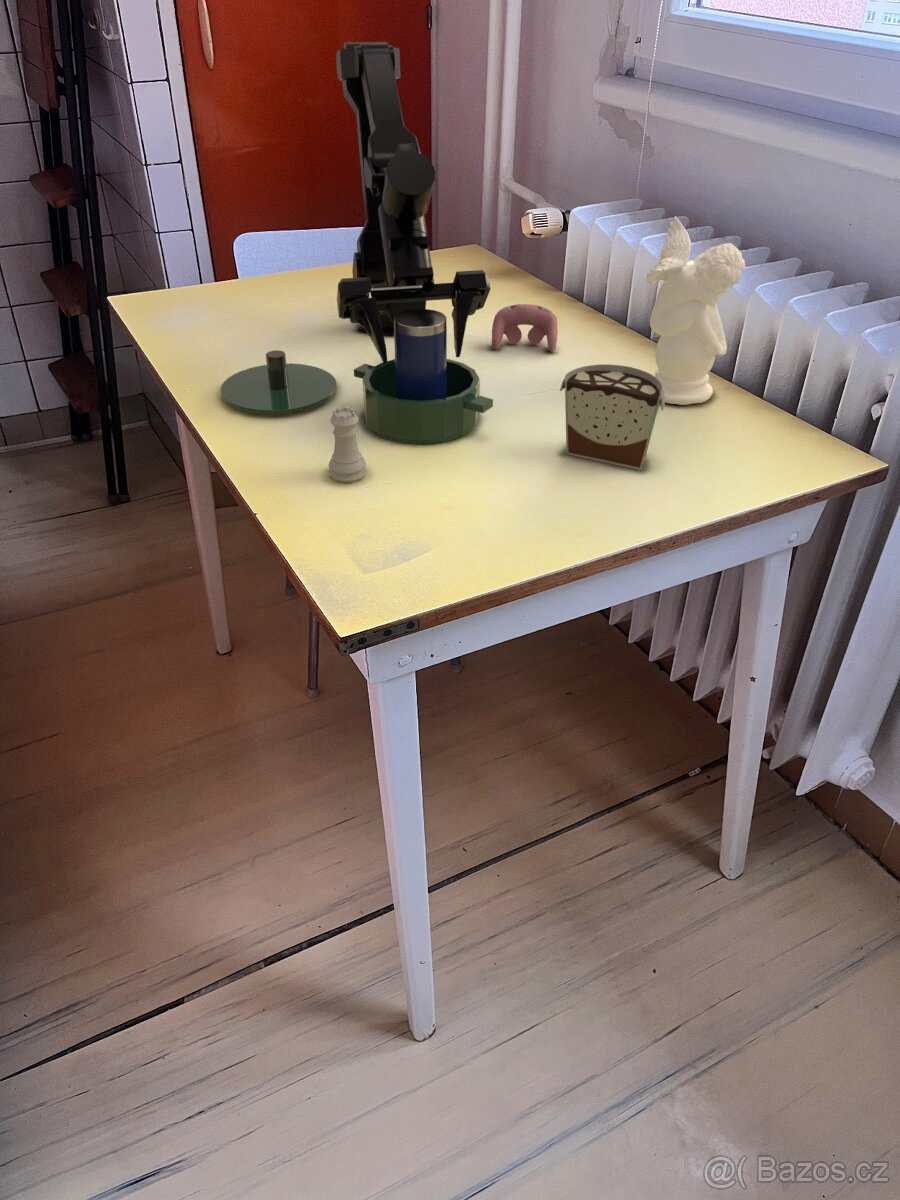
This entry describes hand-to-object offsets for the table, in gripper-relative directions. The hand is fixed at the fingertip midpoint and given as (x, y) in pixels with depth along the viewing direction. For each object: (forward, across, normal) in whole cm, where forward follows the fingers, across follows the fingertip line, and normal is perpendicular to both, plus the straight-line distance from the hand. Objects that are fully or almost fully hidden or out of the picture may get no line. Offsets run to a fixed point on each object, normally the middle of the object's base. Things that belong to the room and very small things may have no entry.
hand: (422, 358), depth 116 cm
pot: (+5, 0, -7) cm, 8 cm away
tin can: (+5, 0, -6) cm, 8 cm away
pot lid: (-3, +18, -14) cm, 23 cm away
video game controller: (-10, -20, -22) cm, 32 cm away
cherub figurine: (+5, -34, -7) cm, 35 cm away
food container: (+15, -21, +3) cm, 26 cm away
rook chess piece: (+15, +11, +3) cm, 19 cm away
